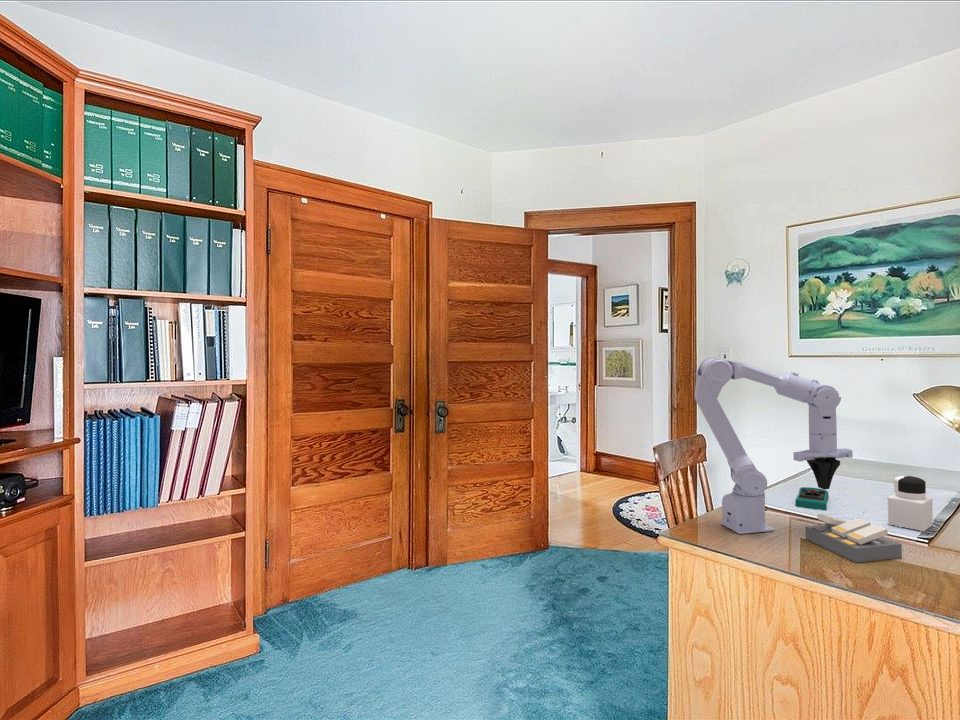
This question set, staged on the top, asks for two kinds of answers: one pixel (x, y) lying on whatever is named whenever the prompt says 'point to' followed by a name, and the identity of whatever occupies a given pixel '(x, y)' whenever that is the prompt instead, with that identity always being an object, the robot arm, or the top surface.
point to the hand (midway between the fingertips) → (823, 488)
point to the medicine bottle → (910, 504)
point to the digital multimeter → (812, 498)
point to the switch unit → (853, 545)
